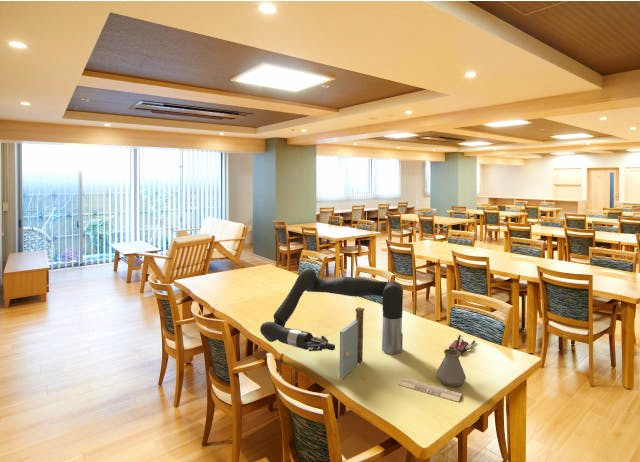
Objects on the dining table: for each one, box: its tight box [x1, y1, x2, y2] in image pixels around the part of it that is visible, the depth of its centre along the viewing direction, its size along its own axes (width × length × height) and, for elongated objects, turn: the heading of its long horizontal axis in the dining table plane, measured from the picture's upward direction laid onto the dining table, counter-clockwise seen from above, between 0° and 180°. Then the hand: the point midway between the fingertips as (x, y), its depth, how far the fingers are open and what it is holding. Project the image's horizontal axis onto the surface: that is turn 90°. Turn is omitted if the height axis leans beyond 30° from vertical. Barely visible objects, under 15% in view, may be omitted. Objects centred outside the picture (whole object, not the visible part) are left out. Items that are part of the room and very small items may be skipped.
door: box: [338, 319, 359, 380], centre depth 167 cm, size 16×3×20 cm, turn 151°
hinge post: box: [355, 307, 365, 364], centre depth 176 cm, size 3×3×25 cm
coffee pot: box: [436, 334, 467, 387], centre depth 164 cm, size 21×12×15 cm, turn 149°
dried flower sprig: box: [448, 338, 476, 356], centre depth 193 cm, size 9×4×20 cm
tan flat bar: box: [397, 377, 463, 403], centre depth 154 cm, size 24×7×2 cm, turn 59°
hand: (334, 347), depth 166 cm, fingers closed
